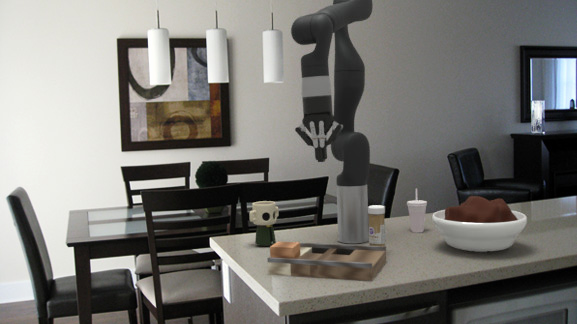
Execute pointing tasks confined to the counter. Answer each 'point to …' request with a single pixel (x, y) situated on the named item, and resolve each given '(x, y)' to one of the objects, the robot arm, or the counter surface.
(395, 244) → the counter surface
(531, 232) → the counter surface
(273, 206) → the character mug
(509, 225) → the chocolate pudding bowl
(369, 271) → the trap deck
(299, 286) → the counter surface
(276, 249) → the terracotta block
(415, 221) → the smoothie
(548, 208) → the counter surface
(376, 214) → the sprinkles bottle
